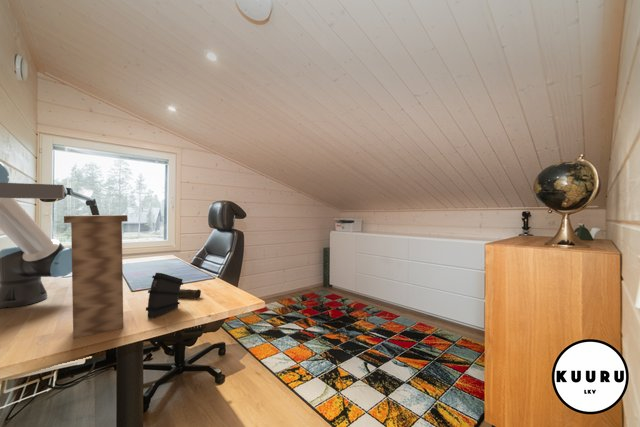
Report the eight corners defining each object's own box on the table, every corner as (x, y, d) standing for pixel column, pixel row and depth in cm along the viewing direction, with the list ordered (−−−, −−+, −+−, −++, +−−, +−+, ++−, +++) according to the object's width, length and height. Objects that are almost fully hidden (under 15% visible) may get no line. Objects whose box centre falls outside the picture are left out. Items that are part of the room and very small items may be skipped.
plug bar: (-59, 196, 68) (-60, 180, 68) (-52, 197, 71) (-52, 181, 71) (62, 198, 81) (62, 184, 81) (64, 198, 84) (64, 185, 84)
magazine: (137, 316, 93) (153, 272, 99) (167, 319, 105) (180, 280, 111) (146, 317, 92) (162, 272, 98) (175, 320, 103) (187, 280, 109)
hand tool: (201, 297, 119) (201, 286, 119) (195, 300, 115) (195, 289, 115) (164, 295, 123) (164, 284, 123) (157, 297, 119) (157, 287, 119)
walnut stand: (66, 340, 80) (63, 216, 79) (70, 328, 88) (68, 215, 87) (129, 326, 89) (127, 215, 88) (127, 317, 97) (126, 214, 96)
